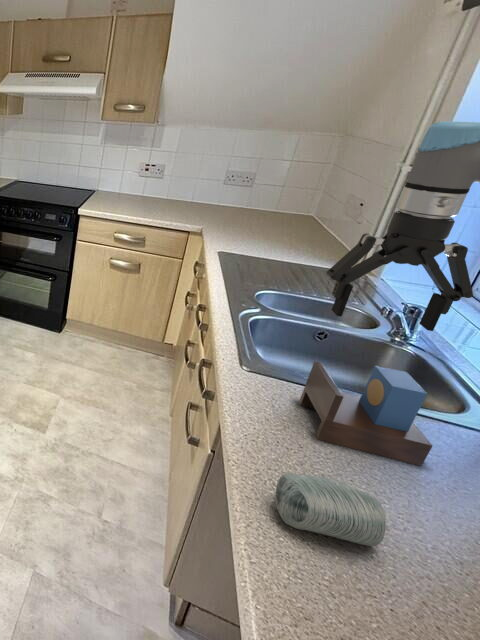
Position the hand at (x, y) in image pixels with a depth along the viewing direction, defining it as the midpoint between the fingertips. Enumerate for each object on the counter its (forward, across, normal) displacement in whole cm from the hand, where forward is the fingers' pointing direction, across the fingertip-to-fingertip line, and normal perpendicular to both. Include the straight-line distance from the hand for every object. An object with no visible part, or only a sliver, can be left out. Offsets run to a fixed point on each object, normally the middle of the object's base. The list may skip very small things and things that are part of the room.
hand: (379, 320), depth 80 cm
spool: (+24, -12, -31) cm, 41 cm away
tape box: (+19, +5, -3) cm, 20 cm away
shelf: (+24, +2, -3) cm, 24 cm away
